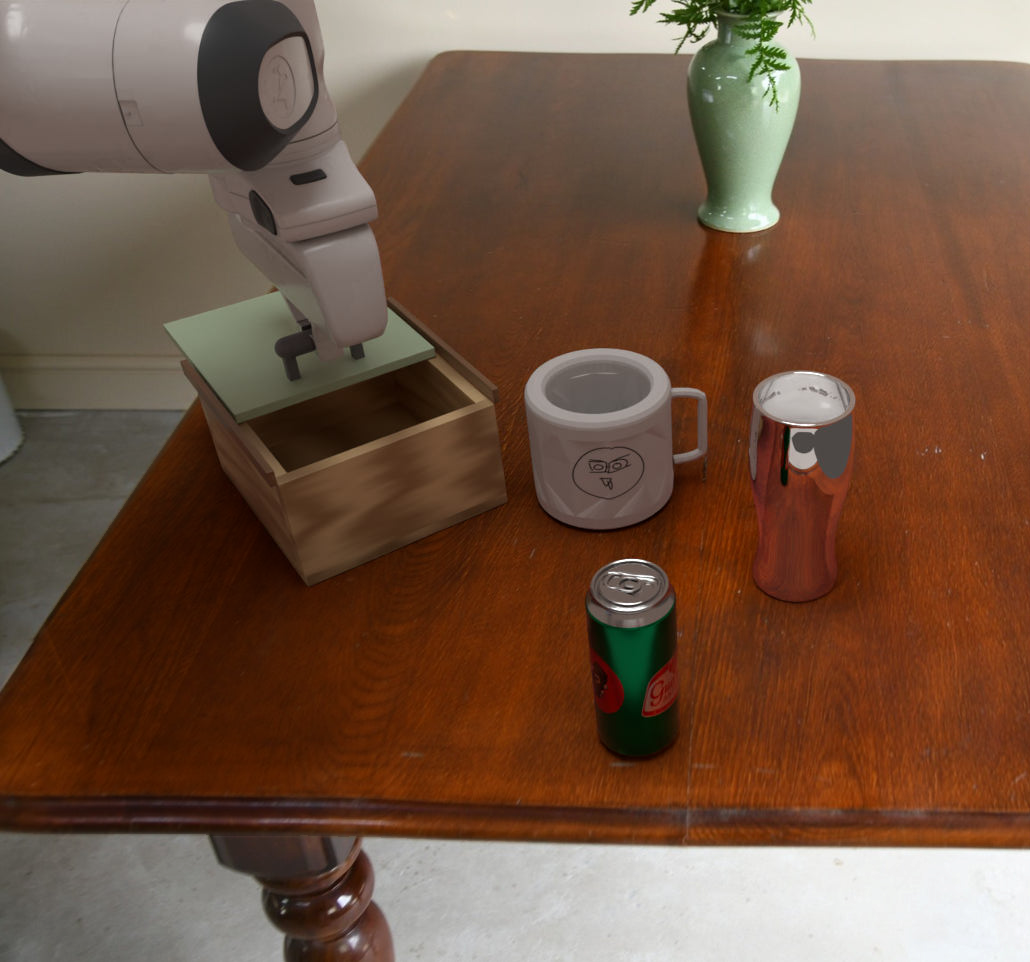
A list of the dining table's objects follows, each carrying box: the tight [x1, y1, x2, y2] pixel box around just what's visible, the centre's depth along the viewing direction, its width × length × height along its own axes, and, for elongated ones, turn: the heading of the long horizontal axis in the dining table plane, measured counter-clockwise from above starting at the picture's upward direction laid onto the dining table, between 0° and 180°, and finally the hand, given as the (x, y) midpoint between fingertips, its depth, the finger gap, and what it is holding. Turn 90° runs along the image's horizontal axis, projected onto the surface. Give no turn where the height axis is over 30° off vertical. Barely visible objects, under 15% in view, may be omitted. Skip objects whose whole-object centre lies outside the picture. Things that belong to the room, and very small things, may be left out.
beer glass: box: [747, 370, 857, 603], centre depth 76 cm, size 7×7×15 cm
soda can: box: [584, 558, 681, 757], centre depth 65 cm, size 5×5×12 cm
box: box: [179, 296, 509, 588], centre depth 86 cm, size 17×18×10 cm
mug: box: [523, 347, 708, 531], centre depth 86 cm, size 14×11×10 cm
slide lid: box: [162, 290, 437, 424], centre depth 87 cm, size 15×17×4 cm
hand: (321, 348), depth 83 cm, fingers closed on slide lid, 2 cm apart
